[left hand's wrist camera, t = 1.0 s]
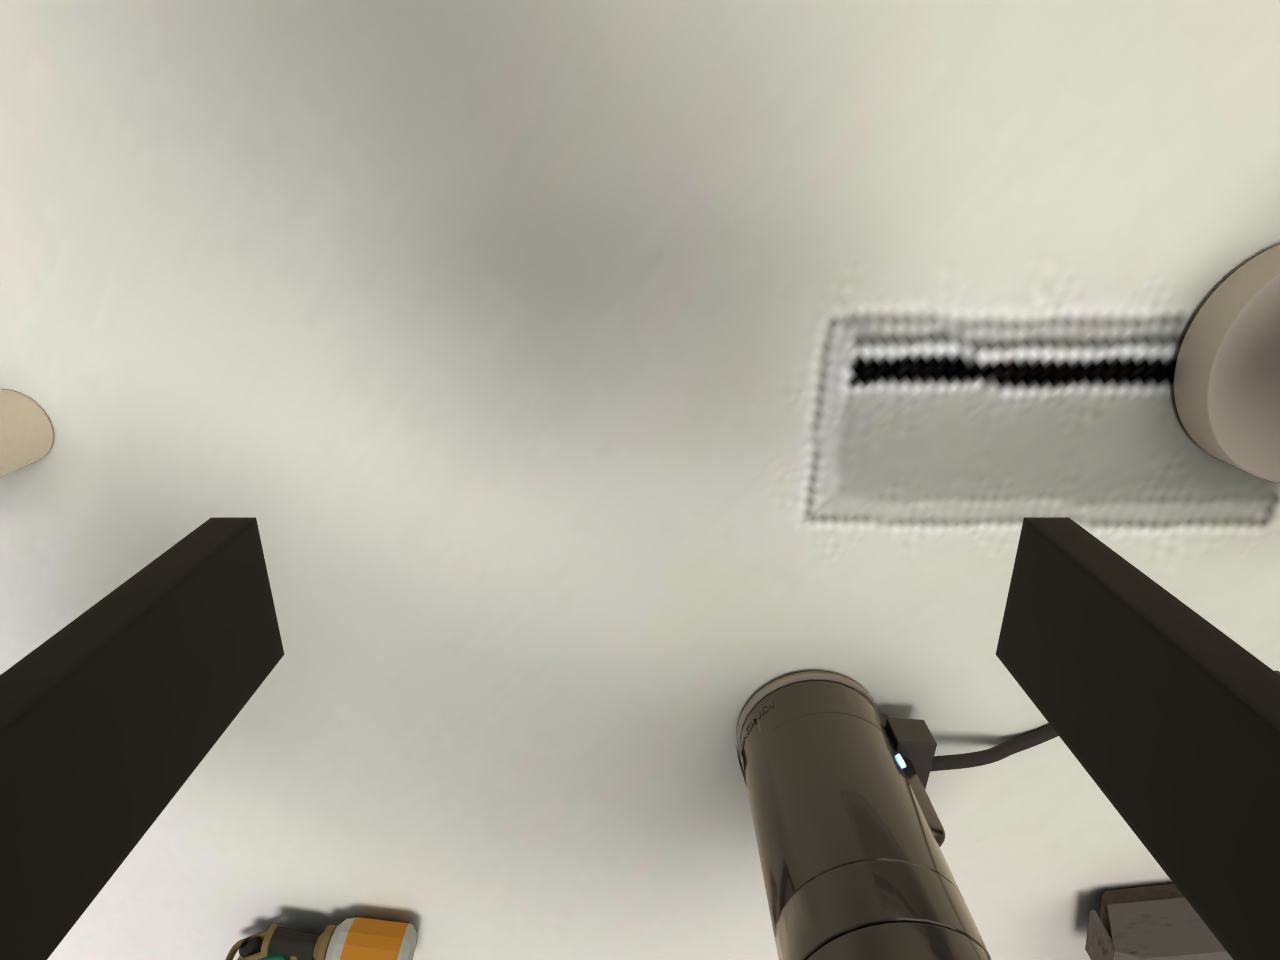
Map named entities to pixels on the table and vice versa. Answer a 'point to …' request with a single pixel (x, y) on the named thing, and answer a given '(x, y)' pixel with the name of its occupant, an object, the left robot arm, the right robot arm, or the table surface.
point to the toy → (1150, 927)
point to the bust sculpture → (1236, 370)
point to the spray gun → (332, 942)
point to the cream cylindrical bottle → (22, 432)
